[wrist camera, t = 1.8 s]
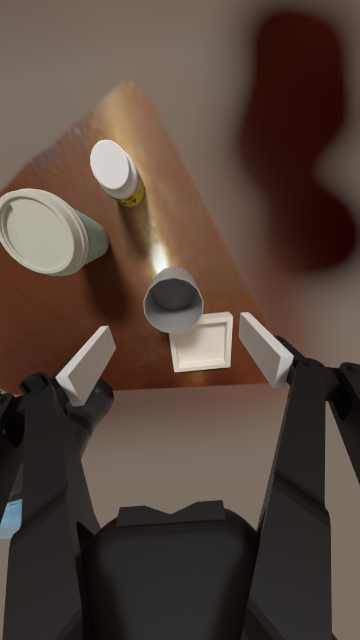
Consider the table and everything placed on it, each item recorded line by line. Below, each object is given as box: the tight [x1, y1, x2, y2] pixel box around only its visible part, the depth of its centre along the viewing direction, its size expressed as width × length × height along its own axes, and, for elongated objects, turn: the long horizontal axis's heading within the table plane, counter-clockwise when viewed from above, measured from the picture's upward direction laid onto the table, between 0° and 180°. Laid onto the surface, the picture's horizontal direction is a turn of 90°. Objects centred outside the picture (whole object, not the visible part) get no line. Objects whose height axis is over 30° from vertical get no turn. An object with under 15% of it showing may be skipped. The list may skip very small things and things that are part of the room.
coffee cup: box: [0, 189, 109, 276], centre depth 21 cm, size 8×9×12 cm
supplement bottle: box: [90, 140, 145, 208], centre depth 20 cm, size 5×5×8 cm
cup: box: [143, 267, 204, 334], centre depth 27 cm, size 8×8×10 cm
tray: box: [169, 312, 233, 372], centre depth 35 cm, size 13×13×2 cm
